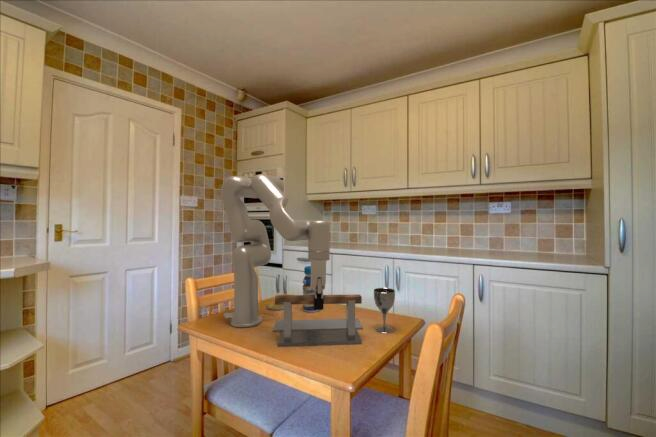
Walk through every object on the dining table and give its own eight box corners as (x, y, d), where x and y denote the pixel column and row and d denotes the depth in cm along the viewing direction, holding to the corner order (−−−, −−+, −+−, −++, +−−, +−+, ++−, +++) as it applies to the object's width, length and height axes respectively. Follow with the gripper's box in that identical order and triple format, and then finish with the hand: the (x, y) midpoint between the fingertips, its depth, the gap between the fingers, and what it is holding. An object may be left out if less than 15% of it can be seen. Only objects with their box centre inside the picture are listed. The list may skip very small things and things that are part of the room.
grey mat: (273, 331, 113) (273, 330, 113) (275, 322, 124) (276, 320, 124) (362, 329, 116) (362, 327, 116) (358, 319, 126) (358, 318, 126)
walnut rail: (274, 304, 103) (274, 297, 103) (275, 302, 106) (275, 295, 106) (361, 303, 106) (361, 296, 106) (360, 301, 109) (360, 294, 109)
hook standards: (277, 346, 100) (277, 304, 100) (280, 335, 110) (280, 296, 110) (361, 343, 102) (361, 302, 102) (356, 332, 112) (356, 294, 112)
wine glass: (389, 335, 109) (389, 293, 109) (370, 330, 114) (369, 290, 114) (398, 328, 116) (398, 289, 116) (379, 324, 120) (379, 286, 121)
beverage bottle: (320, 307, 145) (320, 265, 145) (321, 312, 137) (321, 268, 137) (302, 307, 144) (302, 265, 145) (302, 312, 136) (302, 268, 136)
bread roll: (275, 304, 150) (274, 296, 150) (288, 307, 145) (288, 299, 145) (262, 308, 143) (262, 300, 143) (276, 312, 138) (276, 303, 138)
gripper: (308, 252, 114) (307, 301, 114) (308, 258, 98) (307, 315, 98) (327, 252, 114) (327, 301, 114) (331, 258, 98) (331, 315, 98)
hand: (318, 307), depth 106 cm, fingers closed on walnut rail, 3 cm apart
